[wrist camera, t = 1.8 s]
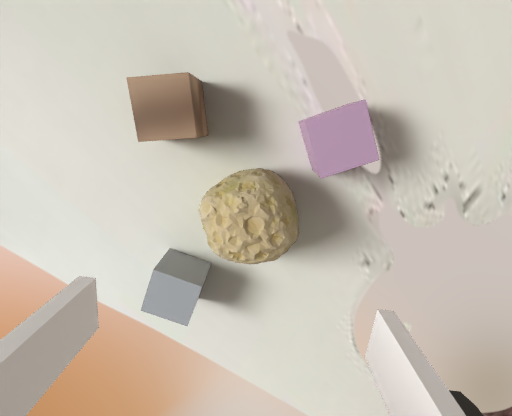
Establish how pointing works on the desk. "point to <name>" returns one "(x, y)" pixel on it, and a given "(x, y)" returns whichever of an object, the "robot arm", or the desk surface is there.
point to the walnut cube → (168, 106)
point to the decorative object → (250, 217)
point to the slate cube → (175, 286)
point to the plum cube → (339, 139)
